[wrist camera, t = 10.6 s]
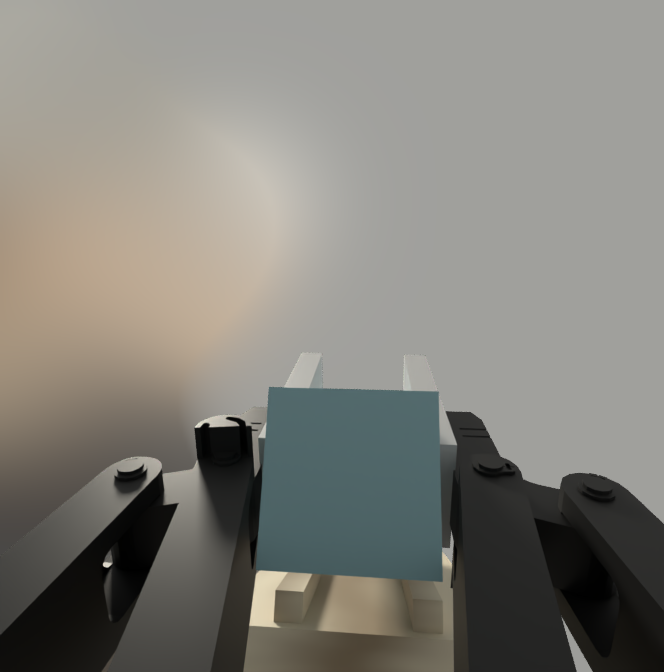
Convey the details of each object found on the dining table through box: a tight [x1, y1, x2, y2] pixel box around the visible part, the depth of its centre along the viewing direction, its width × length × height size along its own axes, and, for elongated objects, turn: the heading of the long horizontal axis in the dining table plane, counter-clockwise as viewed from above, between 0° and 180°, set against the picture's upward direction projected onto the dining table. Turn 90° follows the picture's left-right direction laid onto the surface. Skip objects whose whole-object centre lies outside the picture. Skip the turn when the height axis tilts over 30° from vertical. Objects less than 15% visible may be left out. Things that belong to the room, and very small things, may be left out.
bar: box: [256, 387, 443, 582], centre depth 19 cm, size 3×24×3 cm, turn 175°
